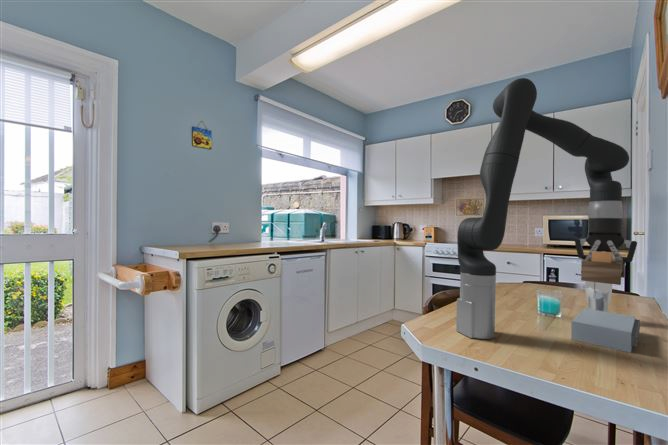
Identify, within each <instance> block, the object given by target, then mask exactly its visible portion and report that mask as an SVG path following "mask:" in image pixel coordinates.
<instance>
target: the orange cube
mask: <svg viewBox="0 0 668 445" xmlns="http://www.w3.org/2000/svg"><path fill="white" fill-rule="evenodd" d="M612 256H613V252H598V251H593V252H592V261H596V262H609V263H612Z"/></svg>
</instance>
